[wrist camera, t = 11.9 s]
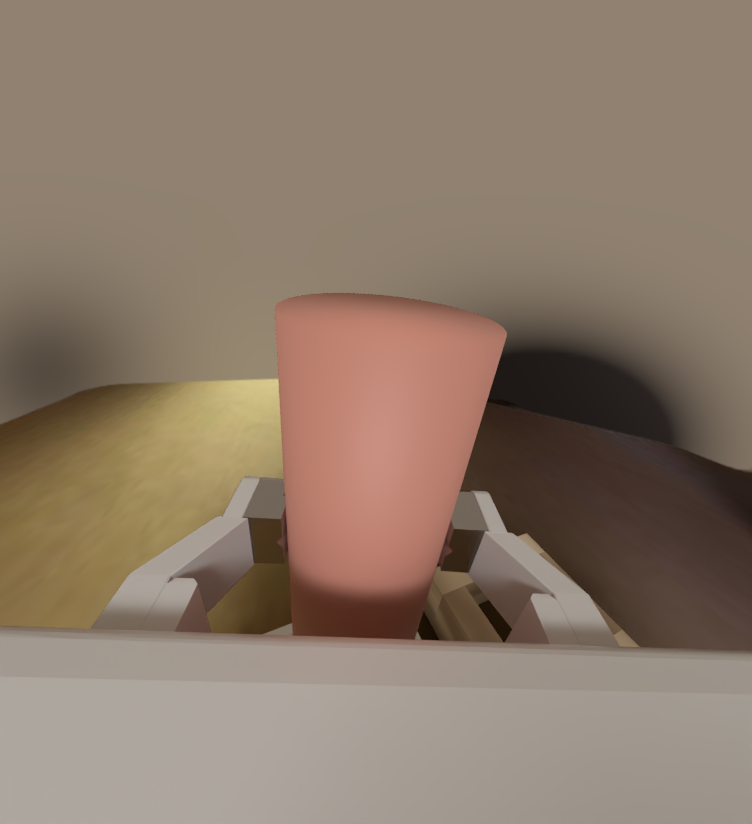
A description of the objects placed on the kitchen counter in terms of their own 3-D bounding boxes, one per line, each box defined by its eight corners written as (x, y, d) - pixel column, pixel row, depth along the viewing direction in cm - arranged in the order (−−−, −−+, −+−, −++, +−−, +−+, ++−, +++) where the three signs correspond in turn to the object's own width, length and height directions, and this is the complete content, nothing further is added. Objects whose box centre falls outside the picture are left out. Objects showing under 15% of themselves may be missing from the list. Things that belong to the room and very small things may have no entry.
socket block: (512, 562, 29) (526, 533, 27) (622, 690, 21) (653, 661, 19) (418, 602, 25) (427, 570, 23) (512, 776, 17) (537, 751, 15)
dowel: (375, 600, 16) (426, 295, 9) (419, 705, 13) (561, 344, 6) (286, 635, 14) (260, 290, 7) (309, 768, 11) (305, 357, 4)
